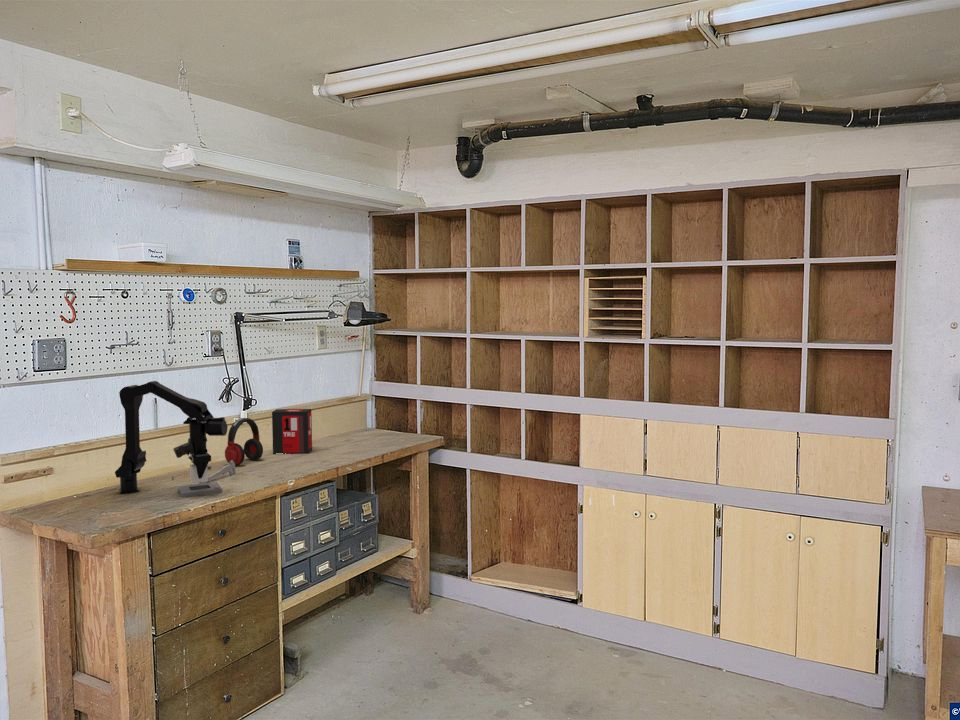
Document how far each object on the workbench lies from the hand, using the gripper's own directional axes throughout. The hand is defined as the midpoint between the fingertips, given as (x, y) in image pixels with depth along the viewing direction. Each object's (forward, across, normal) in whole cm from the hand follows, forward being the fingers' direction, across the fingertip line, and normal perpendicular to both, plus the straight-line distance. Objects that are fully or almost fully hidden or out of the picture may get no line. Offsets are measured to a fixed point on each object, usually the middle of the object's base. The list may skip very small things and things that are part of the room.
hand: (199, 476), depth 270 cm
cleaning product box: (+6, -56, +50) cm, 75 cm away
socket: (+6, 0, 0) cm, 6 cm away
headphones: (+6, -43, +25) cm, 50 cm away
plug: (+2, 0, 0) cm, 2 cm away
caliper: (+6, -17, +9) cm, 20 cm away
